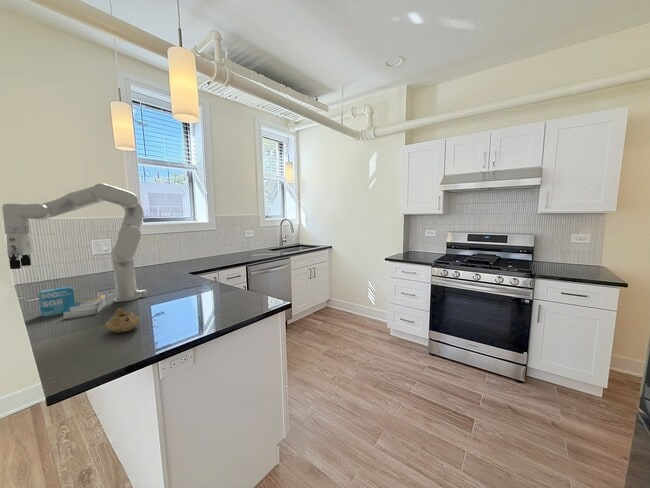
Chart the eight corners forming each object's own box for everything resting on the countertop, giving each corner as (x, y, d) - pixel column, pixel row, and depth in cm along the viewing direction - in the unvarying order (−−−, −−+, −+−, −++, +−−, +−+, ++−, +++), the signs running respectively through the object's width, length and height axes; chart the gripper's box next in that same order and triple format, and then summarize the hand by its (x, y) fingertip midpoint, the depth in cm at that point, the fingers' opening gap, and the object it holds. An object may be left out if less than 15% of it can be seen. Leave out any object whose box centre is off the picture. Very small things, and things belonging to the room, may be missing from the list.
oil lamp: (119, 339, 100) (116, 319, 99) (99, 332, 107) (97, 313, 106) (149, 328, 110) (147, 309, 109) (130, 322, 117) (128, 304, 116)
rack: (105, 303, 145) (104, 294, 145) (97, 313, 129) (96, 303, 129) (76, 307, 140) (75, 297, 139) (64, 319, 123) (62, 307, 123)
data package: (41, 317, 127) (38, 292, 125) (41, 315, 130) (37, 291, 128) (76, 310, 136) (72, 287, 134) (74, 308, 139) (71, 285, 137)
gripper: (19, 230, 118) (23, 269, 120) (37, 230, 133) (40, 264, 135) (-6, 231, 115) (-2, 270, 116) (15, 230, 130) (19, 265, 131)
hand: (21, 267), depth 125 cm, fingers open, 9 cm apart
